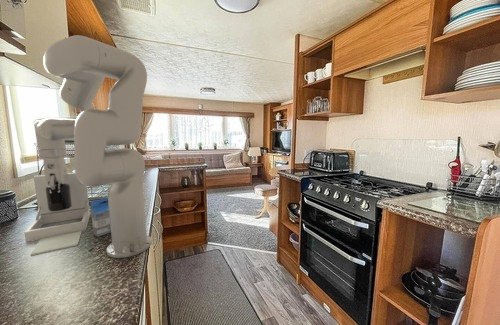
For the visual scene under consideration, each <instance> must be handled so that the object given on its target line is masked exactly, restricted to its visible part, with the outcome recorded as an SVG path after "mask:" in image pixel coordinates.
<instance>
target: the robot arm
mask: <svg viewBox="0 0 500 325" xmlns="http://www.w3.org/2000/svg"><path fill="white" fill-rule="evenodd" d="M45 50H46V51H45V52H44V54H43V57H42V58H43V59H42V61H43V63H42V64H43V66H44V69H45V71H46V72H47V73H48V74H50V75H51V76H53V77H56V78H60V79H63V82H62V85H61V86H60V88H59V91H58V92H59V93H58V94H59V96H60V98H61V99H62V101H64V103H66V104H68V105H70V106H71V107H73V108H75V109H77V110H79V111H81V112H80V113H79V114H78V116H77V117H76V118H58V117H57V118H56V117H49V118H48V117H47V118H44V119H39V120H36V121H34V123H33V124H34V125H33V126H34V131H35V138H36V144H37V145H36V146H37V153H38V159H39V160H42V161H43V163H42V164H43V172H44V175H45V179H46V184H47V185H48V186H50V198H51V204H57V203H62V202H63V197H62V192H61V190H60V184H61V183H62V184H65V183H66V182H67V181H68V174H67V173H68V169H67V164H66V160H65V158H67V157H68V155H67V149H66V143H65V142H66V141H72V140H73V142H74V143H73V145H74V146H73V147H74V159H73V160H74V171H75V172H74V173H76V176H77V179H78V180H79V182H80V183H81V184H83V185H85V186H87V187H92V188H93V187H94V188H95V187H100V186H103V185H108V184H111V186H110V187H109V190H108V193H107V198H108V201H107V203H108V206H109V216H110V227H111V233H110V234H111V243H110V244H108V246H107V248H106V254H107V256H108V257H109V258H110V257H111V258H115V259H123V258H129V257H134V256H136V255H139V254H140V253H143V252H145V251H147V250H148V249H149V248H150V247H151V246H152V244H153V239H152V237H151V236H149V235H147V228H146V226H147V225H146V214H145V212H146V211H145V202H144V200H145V198H144V176H145V168H146V164H145V163H146V162H145V158H144V156H143V154H142V153H141V152H140V151H138V150H136V149H134V148H128V147H127V148H125V147H124V148H123V147H122V148H114V149H113V148H112V149H107V148H106V147H108V146H109V147H110V146H124V145H126V146H127V145H133V144H136V143H137V142H138V141H139V140H140V139H141V135H142V123H143V106H144V105H143V104H144V103H143V102H144V96H145V91H146V86H147V82H148V72H147V68H146V66H145V64H144V63H143V61H142V60H141V59H140V58H139V57H138V56H136V55H134V54H133V53H130V52H128V51H126V50H124V49H121V48H119V47H116V46H113V45H111V44H108V43H104V42H102V41H99V40H97V39H95V38H91V37H88V36H85V35H79V34H77V35H76V34H75V35H71V36H68V37H65V38H62V39H61V40H58V41H55V42H54V43H52V44H51V45H49V46H48V47H47V48H46V49H45ZM106 78H108V79H112V80H113V79H114V80H116V82H115V83H114V84H113V85H112V87H111V88H110V90H109V92H108V95H107V96H108V97H107V99H108V101H107V109H96V108H95V106H94V105H93V102H94V100H95V97H96V96H97V94H98V92H99V90H100V88H101V86H102V85H103V82H104V80H105V79H106ZM49 181H50V182H49ZM55 183H58V184H55ZM57 186H58V187H57Z"/></svg>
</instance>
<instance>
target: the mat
mask: <svg viewBox="0 0 500 325" xmlns="http://www.w3.org/2000/svg"><path fill="white" fill-rule="evenodd" d="M82 233H83V231H79V232H74V233H68V234H63V235H58V236H53V237H48V238H43V239H39V240H38V243H37V244H36V245H35V247H34V249H33V250H32V251H31V252H30V256H31V257H32V256H35V255H41V254H45V253H46V254H47V253H49V252H54V251H58V250H64V249H68V248H73V247H77V246H78V245H79V242H80V239H81V235H82Z"/></svg>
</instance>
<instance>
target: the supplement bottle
mask: <svg viewBox="0 0 500 325" xmlns="http://www.w3.org/2000/svg"><path fill="white" fill-rule="evenodd" d="M49 182H50V181H49ZM55 184H58V183H55ZM57 187H58V186H57ZM60 190H61V192H62V197H63V202H62V203H57V204H51V198H50V186H47V187H46V197H47V204H48V210H49V211H61V210H65V209H68V208H70V207H71V206H72V202H71V193H70V186H69V185H68V184H66V183H65V184H62V183H61V184H60Z"/></svg>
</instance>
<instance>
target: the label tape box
mask: <svg viewBox="0 0 500 325" xmlns="http://www.w3.org/2000/svg"><path fill="white" fill-rule="evenodd" d="M104 202H105V203H104ZM89 205H90V215H91V222H92V230H93V235H94V236H96V237H97V238H99V237H102V236H104V235H107V234H111V227H110V216H109V206H108V197H106V198H101V199H98V200H97V199H96V200H92V201H89Z"/></svg>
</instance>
